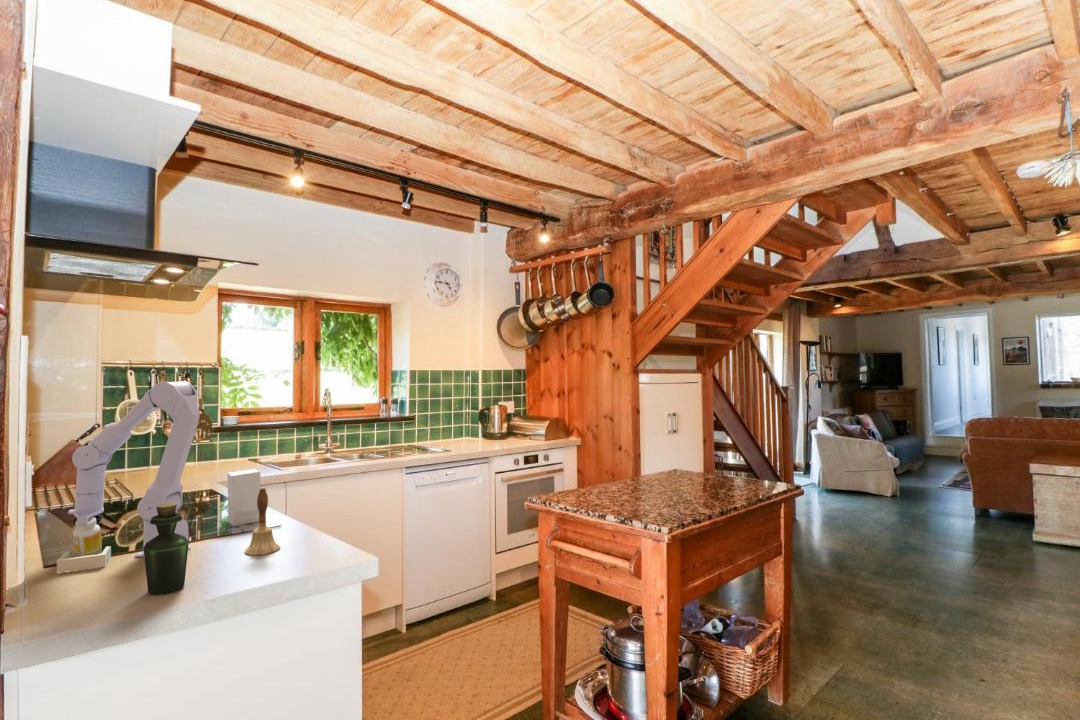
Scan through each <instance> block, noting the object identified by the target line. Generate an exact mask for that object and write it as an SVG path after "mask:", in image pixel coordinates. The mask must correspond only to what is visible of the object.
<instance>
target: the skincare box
mask: <svg viewBox="0 0 1080 720" xmlns="http://www.w3.org/2000/svg"><path fill="white" fill-rule="evenodd" d="M226 476H227V514H228V515H227V518H228V519H227V520H228V521H227V522H228V523H229V524H230V526H232V527H236V526H242V525H247V524H253V523H259V510H258V507H257V498H258V494H259V491H260V489H261V471H259V470H257V469H253V468H252V469H247V470H239V471H234V472H233V471H231V472H230V471H229V472H227V475H226Z"/></svg>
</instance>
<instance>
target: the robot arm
mask: <svg viewBox="0 0 1080 720" xmlns="http://www.w3.org/2000/svg"><path fill="white" fill-rule="evenodd" d="M198 393H199V392H198V391H197V390H196V389H195V388H194V386H193V385H192V384H191V383H189V382H188V381H184V380H180V381H179V380H178V381H159V382H157V383H155V384H154V385H153V386H152V387H151V388H150V389H148V390H147V391H145V393H144V395H143V397H141V398H140V400H139V401H138V402H137V403H135V405H134V406H133V407H131V408H130V410H129V411H128V412H127V413H126V414H125V415H124V417H122V418H121V419H120V420H119V422H110V423H109V424H104V425H103V426H102V427H101V429H102V430H101V431H100V432H99V433H98V434H97V435H96V436H95V437H94V438H91V439H89V440H87V441H88V442H87V443H88V444H87V445H82V446H81V445H80V446H79V447H76V449H75V451H74V452H73V454H72V457H71V461H72V464H73V465H74V466H75V468H76V479H75V480H76V482H75V483H76V484H75V485H76V486H75V498H74V499H75V500H74V509H73V508H72V509H69V510H68V513H67V514H68V515H74V517H75V518H73V521H72V522H73V524H74V526H75V527H76V521H77V525H82V524H87V523H88V518H90V517H95V518H96V522H97V523H96V524H97V525H99V524H100V523H101V521H102V519H103V518H104V515H103V514H102V513H104V510H105V508H104V500H105V498H104V497H105V483H106V471H107V467H108V464H109V463H110V462H111V460H112V458H113V454H114V453H115V452H117V450H118V449H120V448H121V447H122V446H123V445H124V444H125V443H126V442H127V441H128V440H129V439H131V437H132V430H133V429H135V428H136V427H137V426H138V425H139V424H140V423H141V422H143V421H144V420H146V418H147V417H149V416H150V415H151V414H152V413H154V412H155V411H156V410H159V409H161V410H162V411H164V412H165V413H166V414H168V416H169V417H170V419H172V421H173V423H172V425H171V428H170V432H169V435H168V438H167V441H166V444H165V448H164V450H163V455H162V457H161V460H160V463H159V467H158V470H157V472H156V476H155V479H154V481H153V482H151V483H152V484H150V486H149V487H148V488H147V489H146V491H145V495H144V496H143V497H142V498H141V499H140V501H139V502H138V504H137V508H136V509H137V514H138V516H139V517H141V518H142V522H143V547H144V546H145V544H146V543H147V542H148V541H150V540H151V539H153V538H154V537H156V536H157V535H159V534H158V531H157V527H156V525H153V524H150V521H151V518H152V517H153V516H156V515H158V513H157V509H156V506H157V505H159V504H164V503H177V507H176V511H175V513H178V510H179V509H180V508H181V507H182V505H183V501H184V500H183V498H184V497H183V489H184V486H183V485H182V483H180V481H181V478H182V475H183V472H184V469H185V465H186V462H187V460H188V456H189V453H190V449H191V446H192V444H193V440H194V437H195V434H196V430H197V428H198V424H199V421H200V418H201V417H200V416H201V415H200V410H199V405H198V400H197V397H198V395H199V394H198ZM99 526H100V525H99ZM174 533H177V534H179V535H182V536H185V537H186V538H187V540H188V541H189V523H188V521H187V520H186V519H184V518H182V520H181V521H179V522H177V525H176V528H175V532H174ZM191 548H192V547H191V546H188V550H191ZM134 557H135V558H144V550H143V551H141V552H139V553H135V554H134Z"/></svg>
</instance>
